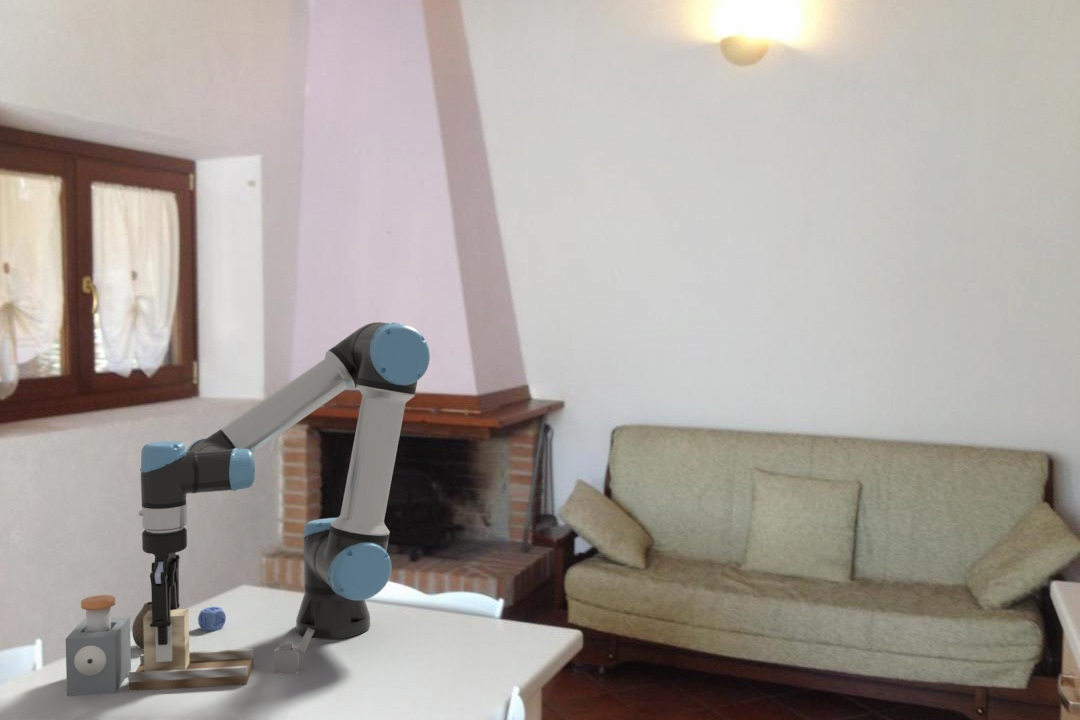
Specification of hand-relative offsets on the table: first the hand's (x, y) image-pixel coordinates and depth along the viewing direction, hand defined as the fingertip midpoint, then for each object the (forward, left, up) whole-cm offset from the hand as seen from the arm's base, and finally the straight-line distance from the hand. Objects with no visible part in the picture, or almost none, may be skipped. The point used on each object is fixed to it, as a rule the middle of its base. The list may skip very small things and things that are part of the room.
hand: (167, 656), depth 181 cm
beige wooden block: (0, 0, -2) cm, 2 cm away
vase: (+7, -18, -4) cm, 20 cm away
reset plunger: (+11, 0, +3) cm, 12 cm away
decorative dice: (-3, -28, -4) cm, 29 cm away
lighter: (-22, 0, -4) cm, 23 cm away
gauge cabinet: (+12, 0, -4) cm, 12 cm away
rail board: (-4, 0, -4) cm, 6 cm away
